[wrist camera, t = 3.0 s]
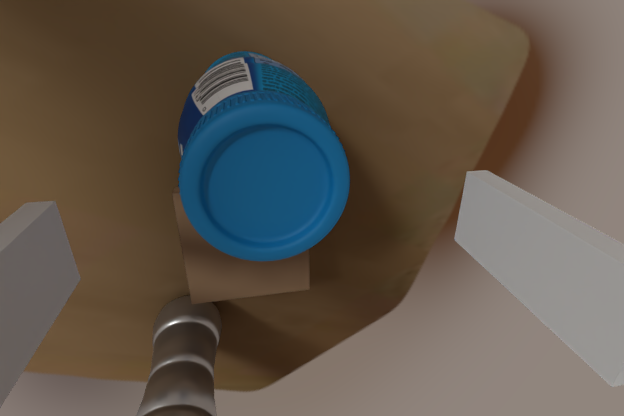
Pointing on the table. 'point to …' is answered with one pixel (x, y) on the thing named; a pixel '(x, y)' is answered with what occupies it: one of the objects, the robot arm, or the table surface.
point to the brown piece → (234, 268)
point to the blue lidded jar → (259, 160)
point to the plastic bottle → (183, 360)
